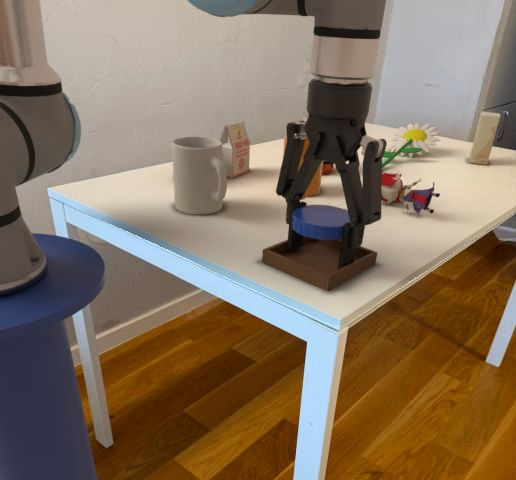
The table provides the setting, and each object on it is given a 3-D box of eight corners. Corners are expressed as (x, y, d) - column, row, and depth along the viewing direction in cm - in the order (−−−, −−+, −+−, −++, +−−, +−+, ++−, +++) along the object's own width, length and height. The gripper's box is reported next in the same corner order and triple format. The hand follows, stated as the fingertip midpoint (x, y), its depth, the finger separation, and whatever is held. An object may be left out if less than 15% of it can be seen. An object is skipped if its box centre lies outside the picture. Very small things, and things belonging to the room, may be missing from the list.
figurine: (418, 220, 87) (355, 197, 96) (445, 222, 92) (383, 199, 102) (431, 183, 84) (365, 162, 94) (458, 186, 89) (393, 166, 99)
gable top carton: (217, 174, 107) (217, 124, 101) (234, 168, 112) (235, 119, 106) (232, 178, 105) (232, 127, 100) (249, 171, 110) (250, 122, 104)
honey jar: (272, 189, 100) (276, 127, 94) (297, 182, 105) (302, 122, 98) (303, 199, 96) (309, 134, 89) (327, 191, 101) (335, 129, 94)
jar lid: (366, 230, 70) (368, 216, 69) (328, 246, 64) (330, 232, 63) (317, 213, 74) (318, 200, 73) (278, 226, 69) (279, 213, 68)
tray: (261, 262, 72) (262, 249, 71) (312, 241, 79) (313, 228, 78) (327, 291, 66) (329, 277, 64) (375, 265, 73) (378, 252, 72)
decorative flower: (404, 186, 113) (444, 144, 132) (406, 164, 110) (447, 124, 128) (351, 178, 119) (397, 139, 137) (352, 158, 116) (399, 120, 134)
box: (486, 165, 123) (501, 116, 117) (468, 163, 124) (481, 114, 118) (486, 160, 127) (500, 112, 121) (468, 158, 128) (481, 111, 122)
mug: (165, 204, 90) (161, 139, 84) (204, 195, 95) (203, 134, 89) (204, 224, 83) (202, 155, 77) (244, 214, 88) (246, 149, 81)
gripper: (439, 89, 56) (397, 274, 68) (292, 67, 67) (280, 229, 80) (405, 94, 51) (367, 291, 64) (253, 70, 62) (247, 241, 75)
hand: (319, 256), depth 72 cm, fingers closed on jar lid, 8 cm apart
